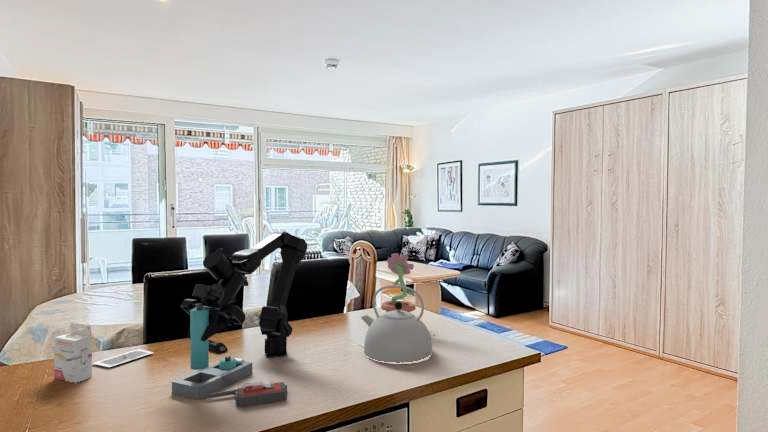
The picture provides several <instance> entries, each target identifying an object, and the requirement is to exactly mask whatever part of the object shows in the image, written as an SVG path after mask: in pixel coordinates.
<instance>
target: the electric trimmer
mask: <svg viewBox="0 0 768 432" xmlns="http://www.w3.org/2000/svg"><path fill="white" fill-rule="evenodd" d="M209 350H210V351H211V350H212V351H214V352H216V354H224V353H227V352H228V347H227V346H226V345H225V343H223V342H217V341H215V340H211V339H209Z"/></svg>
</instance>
